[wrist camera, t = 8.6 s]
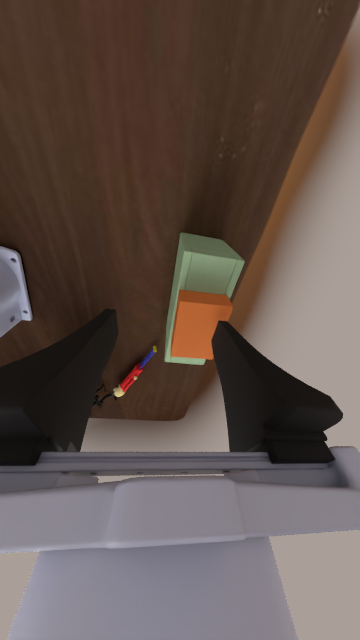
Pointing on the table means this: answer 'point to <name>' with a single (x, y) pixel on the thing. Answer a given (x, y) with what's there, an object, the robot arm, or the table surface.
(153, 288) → the table surface
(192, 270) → the green faceted block
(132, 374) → the red and blue stick
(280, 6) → the table surface
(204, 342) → the pad
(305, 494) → the robot arm
